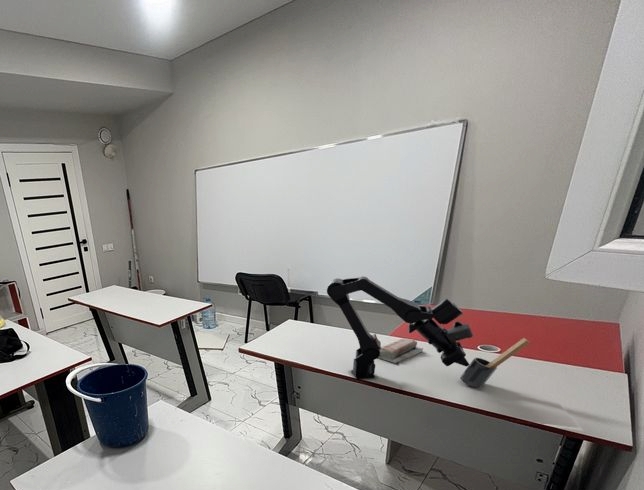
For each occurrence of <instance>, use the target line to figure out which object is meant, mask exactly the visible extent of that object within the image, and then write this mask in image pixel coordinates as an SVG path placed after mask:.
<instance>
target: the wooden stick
mask: <svg viewBox="0 0 644 490" xmlns="http://www.w3.org/2000/svg"><path fill="white" fill-rule="evenodd" d="M530 343H531V342H530V341H529V340H528V339H527V338H525V337H523V338H521V339H520V340H519V341H517V342H516V343H515V344H513V345H512V346H510V347H509V348H508V349H507V350H505V351H504V352H502V353H500V354H499V355H498V356H497V357H495V358H494V359H492V361H489V362H490V363H489V364H488V365H486V366H487V367H490V368H496V367H497V368H498V367H499V366H501V364H503V363H504V362H506V361H508V359H510V358H511V357H512V356H514V355H516V353H518V352H519V351H521V350H523V348H525V347H526V346H528V345H529V344H530Z"/></svg>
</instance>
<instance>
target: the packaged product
mask: <svg viewBox="0 0 644 490" xmlns="http://www.w3.org/2000/svg"><path fill="white" fill-rule="evenodd" d="M423 350H424V347H421V346H418V341H417V340H415V339H411V338H401V339H398V340H396V341H393V342H391V343H388V344H385V345H384V346H381V349H380V356H379V357H378V358H379V359H380V360H384V361H388V362H389V363H394V364H397V363H399V362H401V361H403V360H406V359H408V358H410V357H413V356H416V355H417V354H420V353H422V352H423ZM378 358H377V359H378Z"/></svg>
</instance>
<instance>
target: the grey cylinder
mask: <svg viewBox="0 0 644 490" xmlns="http://www.w3.org/2000/svg"><path fill="white" fill-rule="evenodd" d="M490 362H491V361H488V360H486V359H484V358H481V357H474V358H473V359H472V361H471V362H470V363H469V366H467V367H466V369H465V370H464V371H463V373H462V374H461V375H460V377H459V379H460V380H461V381H462V382H463V383H464V384H466V385H468V386H470V387H472V388H475V389H480V388H482V387H483V386H484V385H486V383H487V381H488V380H489V379H490V378H491V377H492V375H493V374H494V373H495V371H497V369H498V366H497V367H496V368H490V367H487V366H486V365H488V364H489V363H490Z"/></svg>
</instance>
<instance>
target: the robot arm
mask: <svg viewBox="0 0 644 490" xmlns="http://www.w3.org/2000/svg"><path fill="white" fill-rule="evenodd" d="M360 291H362V292H363V293H365V294H367V295H369V296H370V297H372V298H373V299H375V300H376V301H378V302H380V303H382V304H383V305H385V306H387V307H388V308H390V309H391V310H392V311H393V312H394V313H395V314H396V315H397V316H398V317H399V318H400V319H401V320H402V321H403V322H405V323H407V324H408V327H407V330H408V334H412V333H413V332H415V331H417V333H419V334H420V336H422V337H423V338H424V339H425V340H426V342H427V343H428V344H429V345H431V346H432V347H434V348H435V351H436V352H437V353H438V354H440V353H441V354H440V360H441V363H442V364H444V365H445V367H449V366H451V365H453V364H457V365H459V366H460V365H461V366H464V367H466V368H467V367H468V366H469V365H470V363H469V361H468V359H467V358H466V356H467V354H466V352H465V350H464V348H463V346H462V344H461V342H460V341H462V340H465V339H471V338H473V337H474V334H473V332H472V329H471V327H470V325H469V324H468V323H465V322H464V323H462V322H461V321H460V320H458V321H454V320H456V319H458V317H460V316H462V315H464V311H463V310H462V309H461V308H460V307H459V306H458V305H456V303H455V302H452V301H451V300H450V299H449V298H447V297H445V298H444V299H442V301H440V302H439V303H438V304H437V305H435V306H433V307H431V306H427V305H426V306H424V305H419V304H418V303H417V302H414V301H411V300H409V299H406V298H402V297H399V296H397V295H395V294H393V293H392V292H390V291H389V290H387V289H386V288H384V287H382V286H381V285H379V284H377V283H375V282H373V281H372V280H370V278H368V276H360V277H353V278H352V277H351V278H344V279H342V278H334V279H331V280H330V282H329V283H328V285H327V288H326V294H327V295H328V297H329V298H330V299H331V300H332V301H333V303H335V305H337V306H338V307H339V308H340V311H341V312H342V313H343V316H344V317H345V319H346V321H347V323H348V324H349V326H350V328H351V330H352V331H353V333H354V335H355V337H356V338H357V340H358V345H359V347H358V348H357V349H356V350H355V358H353V365H352V369H351V370H350V372H351V374H352V375H353V376H354V377H355V379H357V380H360V379H361V380H363V379H375V378H376V376H375V371H376V363H375V360H377V359H378V357H379V356H380V349H381V347H382V345H381V344H382V343H381V341H380V340H379V339H378V336H377V334H376V333H373V334H371V333H370V332H369V331H368V329H367V327H366V326H365V324H364V322H363V321H362V319H361V317H360V315H359V313H358V311H357V309H356V308H355V306H354V304H353V302H352V301H351V298H350V294H352V293H356V292H360ZM453 321H454V322H453ZM451 322H453V324H452V326H451V327H450V328H448V329H446V328H445V327H443V326H444V325H448V324H449V323H451ZM440 325H443V326H440Z"/></svg>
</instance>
